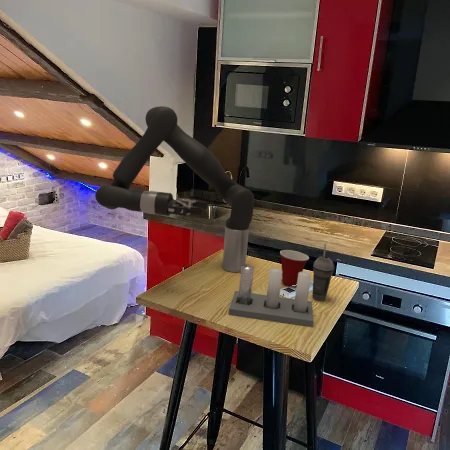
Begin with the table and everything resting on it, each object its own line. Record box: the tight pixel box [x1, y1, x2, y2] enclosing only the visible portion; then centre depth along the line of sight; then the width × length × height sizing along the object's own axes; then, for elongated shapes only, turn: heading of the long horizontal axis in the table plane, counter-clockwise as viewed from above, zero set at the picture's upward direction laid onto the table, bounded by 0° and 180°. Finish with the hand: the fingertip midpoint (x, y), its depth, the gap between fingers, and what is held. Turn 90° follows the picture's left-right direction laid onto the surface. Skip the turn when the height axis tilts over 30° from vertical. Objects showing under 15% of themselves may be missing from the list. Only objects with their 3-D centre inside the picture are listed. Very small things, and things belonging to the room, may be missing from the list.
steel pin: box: [237, 264, 255, 306], centre depth 139 cm, size 4×4×14 cm
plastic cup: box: [279, 249, 310, 287], centre depth 161 cm, size 11×11×12 cm
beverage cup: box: [312, 243, 335, 302], centre depth 149 cm, size 7×7×20 cm
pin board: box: [228, 267, 314, 328], centre depth 138 cm, size 14×26×14 cm, turn 81°
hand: (204, 208), depth 140 cm, fingers open, 8 cm apart
